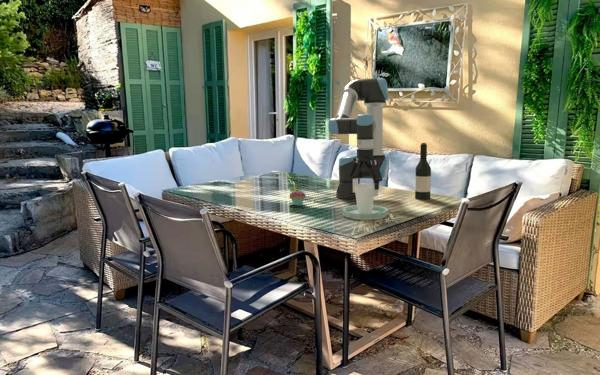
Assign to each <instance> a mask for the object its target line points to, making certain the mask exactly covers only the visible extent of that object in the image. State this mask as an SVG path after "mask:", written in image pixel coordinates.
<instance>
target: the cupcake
mask: <svg viewBox="0 0 600 375" xmlns="http://www.w3.org/2000/svg"><path fill="white" fill-rule="evenodd" d="M293 189H294V191H291V193H290V194H289V199H291V201H292V204H293V205H294V206H302V205H303V203H304V200H305V199H306V198H307V196H306V195H307V194H306V193H305V192H304V191H302V190H296V183H295V182H293Z"/></svg>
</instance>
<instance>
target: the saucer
mask: <svg viewBox="0 0 600 375" xmlns="http://www.w3.org/2000/svg"><path fill="white" fill-rule="evenodd" d="M388 214H389V210H388V209H387V207H385V206H380V205H375V204H373V207H372V213H371V214H359V213H358V208H357V204H354V205H348V206H345V207H343V208H342V216H343V217H345V218H348V219H352V220H357V221H358V220H360V221H361V220H362V221H371V220H372V221H373V220H379V219H380V220H381V219H385V218H386V217H387V216H388Z"/></svg>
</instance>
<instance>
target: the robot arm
mask: <svg viewBox="0 0 600 375" xmlns="http://www.w3.org/2000/svg"><path fill="white" fill-rule="evenodd" d="M339 99H340V101H339V104H338V108H337V110H336V114H335V117H334V118H330V119H328V122H327V123H328V125H327V126H328V133H329V134H330V135H356V148H357V149H356V154H353V155H345V156H341V157H340V158H339V159H338V186H337V189H336V192H335V197H336V198H337V199H343V200H356V194H355V188H354V186H355V185H357V184H361V180H360V179H370V180H371V179H372V181H373V182H372V184H373V197H374V198H375V197H376V198H377V197H378V196H379V189H380V182H383V179H384V178H385V177H386V173H387V169H388V168H387V167H388V157H386V153H385V152H384V151H383V129H384V128H383V127H384V126H383V123H384V122H383V121H384V119H383V116H384V114H383V112H384V106H385V105H386V104H387V102H386V101H389V89H388V82H387V80H386V79H385V78H380V77H379V78H378V77H376V78H372V77H371V78H356V79H354V80H351V81H350V82H348V83H346V85H344V87H343V88H342V90H340V94H339ZM360 101H361V102H362V101H363V105H364V106H365V107H366V113H363V114H357V115H356V117H353V115H352V114H353V111H354V107H355V104H356V103H357V102H360Z"/></svg>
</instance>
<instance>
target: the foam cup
mask: <svg viewBox="0 0 600 375" xmlns="http://www.w3.org/2000/svg"><path fill="white" fill-rule="evenodd" d="M354 188H355V194H356V199H355V200H356V205H357V208H358V213H359V214H371V213H372V207H373V205H374V198H375V197H373V183H360V184H357V185H355V186H354Z"/></svg>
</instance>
